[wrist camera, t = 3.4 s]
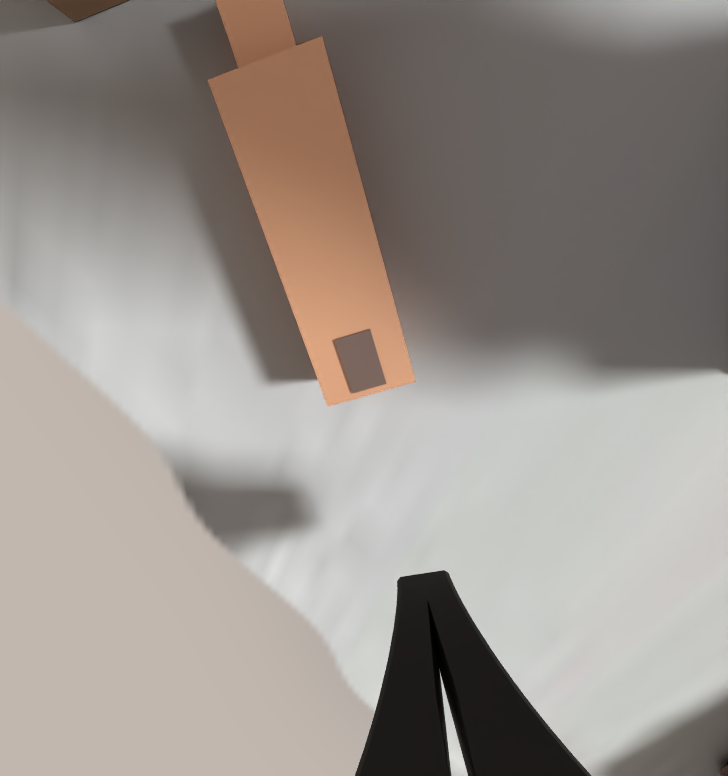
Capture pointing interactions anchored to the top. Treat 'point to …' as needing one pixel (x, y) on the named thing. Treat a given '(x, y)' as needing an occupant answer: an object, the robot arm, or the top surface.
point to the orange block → (310, 200)
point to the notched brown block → (83, 7)
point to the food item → (724, 771)
